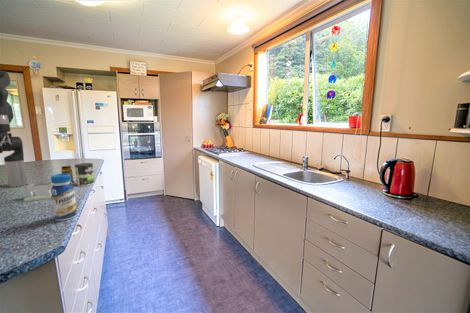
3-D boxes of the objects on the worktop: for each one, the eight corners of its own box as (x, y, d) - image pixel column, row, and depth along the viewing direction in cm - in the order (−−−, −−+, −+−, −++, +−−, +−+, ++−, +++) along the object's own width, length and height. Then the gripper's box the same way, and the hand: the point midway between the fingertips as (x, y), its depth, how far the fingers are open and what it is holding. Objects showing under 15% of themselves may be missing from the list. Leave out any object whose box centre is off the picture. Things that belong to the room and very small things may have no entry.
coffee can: (98, 182, 153) (96, 163, 151) (85, 186, 143) (83, 166, 141) (86, 181, 155) (84, 162, 153) (73, 185, 145) (70, 165, 143)
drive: (58, 191, 128) (56, 181, 127) (54, 194, 124) (53, 184, 123) (33, 194, 124) (31, 183, 123) (28, 196, 120) (26, 186, 119)
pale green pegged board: (23, 201, 117) (22, 193, 116) (33, 195, 127) (32, 187, 126) (55, 198, 122) (54, 190, 121) (62, 192, 132) (61, 185, 131)
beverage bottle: (74, 211, 104) (69, 171, 100) (80, 216, 98) (75, 174, 95) (52, 217, 97) (46, 175, 94) (57, 223, 92) (50, 178, 89)
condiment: (60, 183, 152) (58, 166, 150) (73, 180, 159) (71, 164, 157) (65, 184, 149) (63, 167, 147) (79, 181, 156) (77, 165, 154)
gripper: (0, 123, 114) (6, 153, 116) (15, 123, 127) (20, 150, 129) (-19, 123, 111) (-13, 154, 113) (-2, 123, 124) (3, 150, 126)
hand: (4, 152), depth 121 cm, fingers open, 8 cm apart
